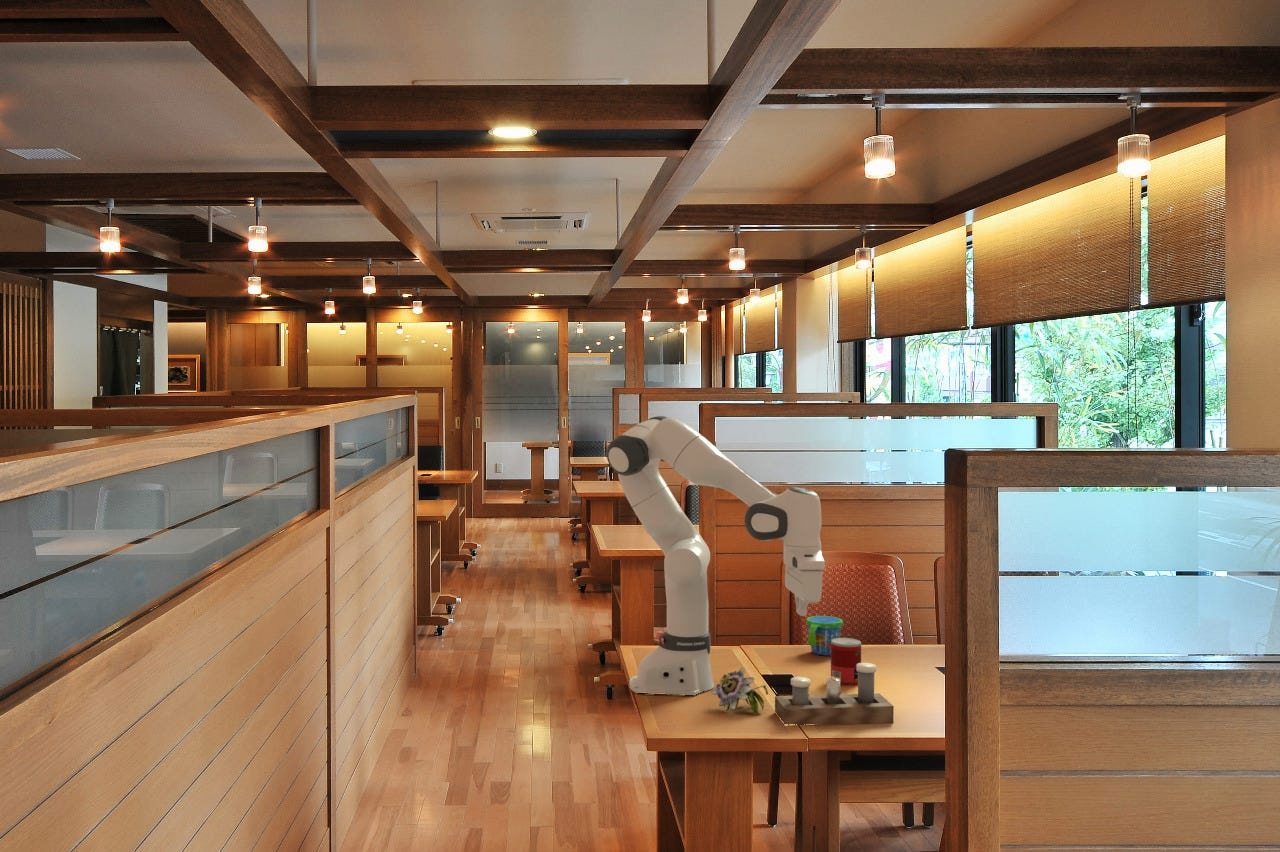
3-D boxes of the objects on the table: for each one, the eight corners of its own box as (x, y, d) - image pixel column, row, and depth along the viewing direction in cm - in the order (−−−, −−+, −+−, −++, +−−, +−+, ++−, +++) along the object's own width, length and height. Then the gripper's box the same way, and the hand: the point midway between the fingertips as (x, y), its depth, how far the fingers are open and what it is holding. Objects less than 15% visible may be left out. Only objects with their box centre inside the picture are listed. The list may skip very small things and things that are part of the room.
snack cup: (825, 645, 305) (825, 612, 305) (854, 651, 298) (854, 618, 297) (794, 654, 294) (794, 620, 294) (823, 661, 287) (823, 626, 287)
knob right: (859, 706, 234) (859, 668, 234) (853, 700, 239) (853, 662, 239) (878, 706, 235) (878, 667, 235) (872, 700, 239) (872, 662, 239)
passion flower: (726, 733, 241) (700, 690, 244) (753, 714, 249) (727, 672, 252) (754, 717, 234) (727, 672, 237) (780, 698, 242) (753, 655, 245)
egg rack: (784, 726, 230) (784, 709, 230) (774, 712, 240) (775, 696, 240) (893, 722, 233) (893, 706, 232) (879, 709, 242) (879, 693, 242)
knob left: (793, 721, 233) (793, 682, 233) (788, 715, 238) (788, 677, 237) (812, 720, 233) (812, 682, 233) (807, 714, 238) (807, 676, 238)
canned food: (861, 686, 262) (861, 645, 261) (830, 684, 263) (830, 643, 263) (860, 678, 269) (861, 638, 269) (830, 676, 271) (831, 636, 271)
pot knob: (828, 706, 234) (828, 680, 234) (824, 702, 238) (825, 676, 237) (841, 706, 235) (842, 679, 235) (837, 702, 238) (838, 676, 238)
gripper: (778, 549, 244) (778, 605, 245) (800, 563, 224) (799, 624, 224) (803, 549, 245) (803, 605, 245) (827, 563, 225) (826, 624, 225)
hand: (801, 614), depth 235 cm, fingers closed
